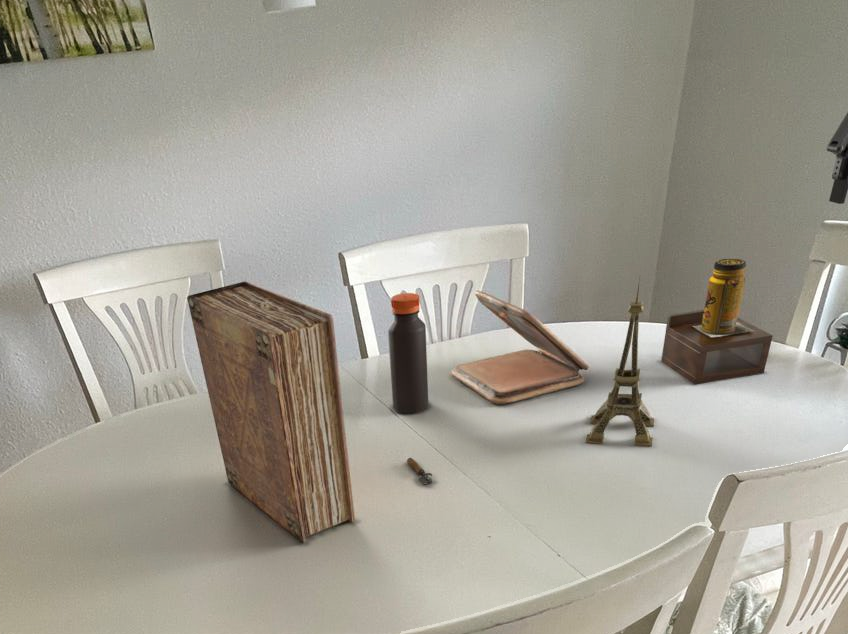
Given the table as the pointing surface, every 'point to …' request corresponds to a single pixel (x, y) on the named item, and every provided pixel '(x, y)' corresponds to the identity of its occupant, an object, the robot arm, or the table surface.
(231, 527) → the table surface
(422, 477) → the can opener
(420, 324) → the vinegar
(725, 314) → the condiment
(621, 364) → the eiffel tower
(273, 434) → the book
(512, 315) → the case
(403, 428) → the table surface
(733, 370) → the box
